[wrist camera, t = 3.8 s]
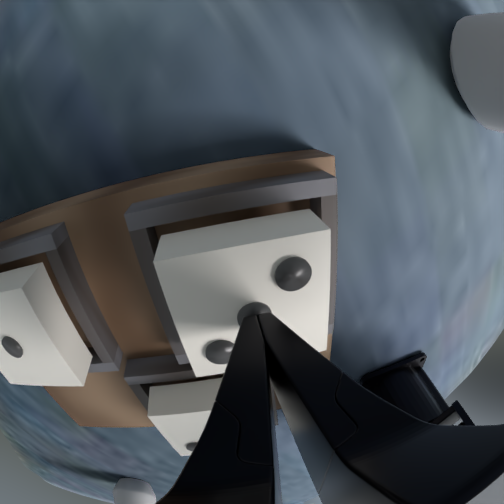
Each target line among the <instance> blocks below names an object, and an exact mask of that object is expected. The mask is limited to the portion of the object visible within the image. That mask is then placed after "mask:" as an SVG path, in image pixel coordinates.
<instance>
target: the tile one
mask: <svg viewBox="0 0 504 504" xmlns="http://www.w3.org/2000/svg"><path fill="white" fill-rule="evenodd" d="M92 357H93V356H92V355H91V353H90V352H89V350H88V348H87V347H86V345H85V344H84V342H83V340H82V339H81V337H80V335H79V334H78V332H77V330H76V328H75V327H74V325H73V323H72V321H71V320H70V318H69V316H68V314H67V312H66V310H65V308H64V306H63V305H62V303H61V301H60V299H59V297H58V295H57V293H56V291H55V289H54V286H53V284H52V282H51V280H50V278H49V276H48V273H47V271H46V269H45V267H44V264H43V262H41V263H37V264H33V265H29V266H25V267H21V268H17V269H13V270H10V271H6V272H2V273H0V371H1V373H2V374H3V375H4V376H5V378H6V379H7V380H8V381H9V382H10V384H19V385H36V386H84V384H85V380H86V377H87V373H88V370H89V367H90V363H91V360H92Z"/></svg>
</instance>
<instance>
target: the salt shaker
mask: <svg viewBox="0 0 504 504" xmlns="http://www.w3.org/2000/svg"><path fill="white" fill-rule="evenodd" d="M113 497H114V503H115V504H155V503H156V496H155V494H154V492H153V490H152V488H151V486H150V484H149V483H147V482H145V481H143V480H139V479H133V478H120V479H119V481H118V482H117V484H116V486H115V487H114V489H113Z"/></svg>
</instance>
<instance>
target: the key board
mask: <svg viewBox="0 0 504 504" xmlns="http://www.w3.org/2000/svg"><path fill="white" fill-rule="evenodd" d="M305 209H310V210H311V211H312V212H313V213H314V214H316V215H317V216H318V217H319V218H320V219H321V220H322V221H323V222H324V223H325V224H326V225H327V226H328V227H329V228H330V229H331V264H330V299H329V320H328V336H327V350H325V351H322V352H319V353H321V354H322V355H323V356H324V357H326V358H327V359H328V360H329V361H330V353H331V342H332V333H333V328H334V315H335V298H336V277H337V234H338V215H337V177H335V156H333V155H330V154H328V153H325V152H322V151H319V150H316V149H310V150H300V151H291V152H282V153H274V154H266V155H259V156H252V157H245V158H238V159H232V160H226V161H220V162H214V163H209V164H203V165H198V166H193V167H188V168H183V169H178V170H173V171H169V172H164V173H160V174H155V175H151V176H147V177H142V178H138V179H134V180H130V181H126V182H122V183H119V184H115V185H111V186H107V187H104V188H100V189H97V190H93V191H90V192H86V193H83V194H80V195H77V196H73V197H70V198H67V199H64V200H61V201H58V202H55V203H52V204H49V205H46V206H43V207H40V208H37V209H35V210H32V211H29V212H26V213H24V214H21V215H18V216H16V217H13V218H11V219H8V220H6V221H3V222H1V223H0V273H2V272H6V271H10V270H13V269H17V268H21V267H25V266H29V265H33V264H37V263H41V262H43V264H44V267H45V269H46V271H47V273H48V276H49V278H50V280H51V282H52V284H53V286H54V289H55V291H56V293H57V295H58V297H59V299H60V301H61V303H62V305H63V306H64V308H65V310H66V312H67V314H68V316H69V318H70V320H71V321H72V323H73V325H74V327H75V328H76V330H77V332H78V334H79V335H80V337H81V339H82V340H83V342H84V344H85V345H86V347H87V348H88V350H89V352H90V353H91V355H92V356H93V357H92V360H91V363H90V367H89V370H88V373H87V377H86V380H85V384H84V386H43V387H44V388H45V389H46V391H47V392H48V393H49V394H50V395H51V396H52V397H53V399H54V400H55V401H56V402H57V403H58V404H59V405H60V406H61V407H62V408H63V409H64V411H65V412H66V413H67V414H68V415H69V416H70V417H71V418H72V419H73V420H74V421H75V422H76V423H77V424H78V425H79V426H89V427H154V426H155V425H154V424H153V423H152V421H151V420H150V419H149V418H148V416H147V415H148V402H149V390H150V387H152V386H162V385H172V384H180V383H188V382H196V381H203V380H209V379H216V378H222V377H223V375H224V373H221V374H215V375H209V376H202V377H196V376H195V373H194V371H193V369H192V366H191V364H190V362H189V359H188V357H187V354H186V352H185V349H184V347H183V344H182V342H181V339H180V337H179V334H178V332H177V329H176V326H175V324H174V321H173V318H172V316H171V313H170V310H169V307H168V305H167V302H166V299H165V296H164V293H163V290H162V287H161V284H160V282H159V279H158V275H157V272H156V269H155V266H154V263H153V261H154V257H155V254H156V250H157V247H158V243H159V240H160V237H161V235H166V234H171V233H176V232H181V231H186V230H191V229H196V228H202V227H207V226H212V225H218V224H223V223H228V222H234V221H240V220H245V219H251V218H257V217H262V216H268V215H274V214H280V213H286V212H292V211H298V210H305ZM270 383H271V380H270ZM271 391H272V401H273V411H274V422H275V426H276V425H278V419H277V411H276V410H277V409H282V408H281V405H280V403H279V401H278V398H277V396H276V393H275V391H274V388H273V385H272V383H271Z"/></svg>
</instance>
